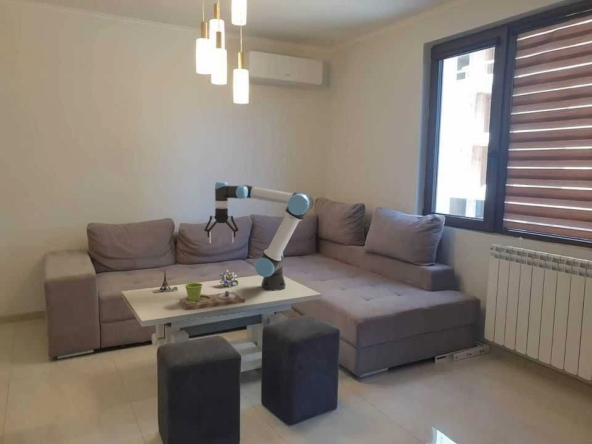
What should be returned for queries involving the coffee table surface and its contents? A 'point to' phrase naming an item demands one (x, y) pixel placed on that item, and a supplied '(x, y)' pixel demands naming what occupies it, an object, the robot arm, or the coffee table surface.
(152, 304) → the coffee table surface
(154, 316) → the coffee table surface
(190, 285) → the plant pot
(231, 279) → the passion flower
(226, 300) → the mount board
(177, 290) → the eiffel tower figurine
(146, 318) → the coffee table surface
